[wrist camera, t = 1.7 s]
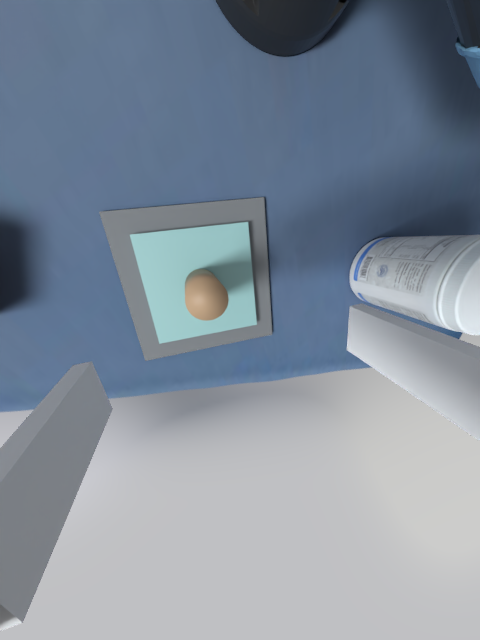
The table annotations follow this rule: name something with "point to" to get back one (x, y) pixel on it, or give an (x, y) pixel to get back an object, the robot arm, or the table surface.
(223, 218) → the mat
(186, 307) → the lid
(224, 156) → the table surface
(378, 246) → the supplement tub
